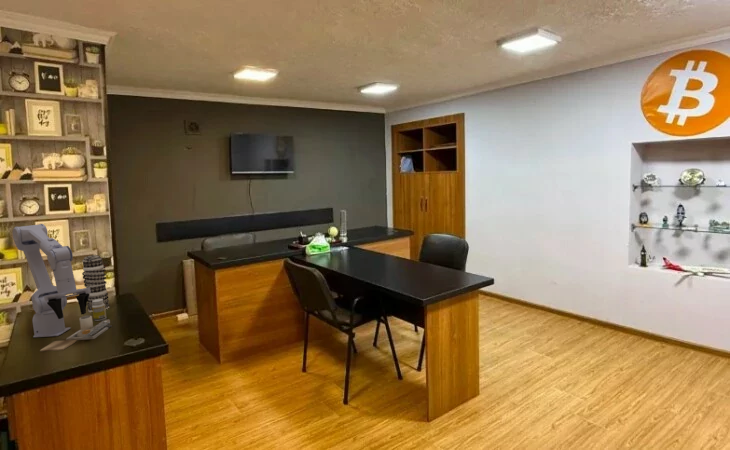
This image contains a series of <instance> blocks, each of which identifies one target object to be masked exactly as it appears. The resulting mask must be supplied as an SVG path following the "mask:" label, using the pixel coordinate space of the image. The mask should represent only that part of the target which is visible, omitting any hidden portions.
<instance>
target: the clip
mask: <svg viewBox="0 0 730 450" xmlns="http://www.w3.org/2000/svg"><path fill="white" fill-rule="evenodd" d="M100 321H101V322H99V323H97V324H96V325H93V328H91V329H90V330H84V331H82V337H83V338H88V337H90V336H91V335H93V334H94V333H95V332H97V331H98V332H99V331H101V330H100V329H101V328H103V327H104V326H106V325H108V324H109V325H111V320H110V319H109V318H108V319H107V318H106V319H104V320H100Z"/></svg>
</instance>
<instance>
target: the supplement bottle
mask: <svg viewBox="0 0 730 450" xmlns="http://www.w3.org/2000/svg"><path fill="white" fill-rule="evenodd" d="M92 304H93V306H92V311H93V313H92V319H93V321H95V322H99V321H102V320H106V319H107V318H108V317H107V310H106V309H105V304H104V302H103V299H96V300H93V301H92Z"/></svg>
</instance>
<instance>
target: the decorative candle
mask: <svg viewBox="0 0 730 450" xmlns="http://www.w3.org/2000/svg"><path fill="white" fill-rule="evenodd" d="M81 262H82V265H83V266H82V269H83V272H82V273H81V274H82V279H84V280H83V283H84V284H83V287H84V288H89V287H90V290H91V292H90V293H88V294H89V297H88V300H87V305H86V310H87V312H88V313H91V312H93V311H92V306H93V304H92V301H93V300H96V299H103V302H104V304H105V309H107V310H109V309H110V300H109V296H108V295H109V293H108V292H107V287H106V284H107V281H106V279H107V277H106V276H107V274H106V273H104V272H106V271H107V270H106V269H105V268H106V266H104V264H103V262H104V261H103V257H102V256H100V255H97V254H92V255H87V256H84V257H83V259H82V260H81ZM108 308H109V309H108Z"/></svg>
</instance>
